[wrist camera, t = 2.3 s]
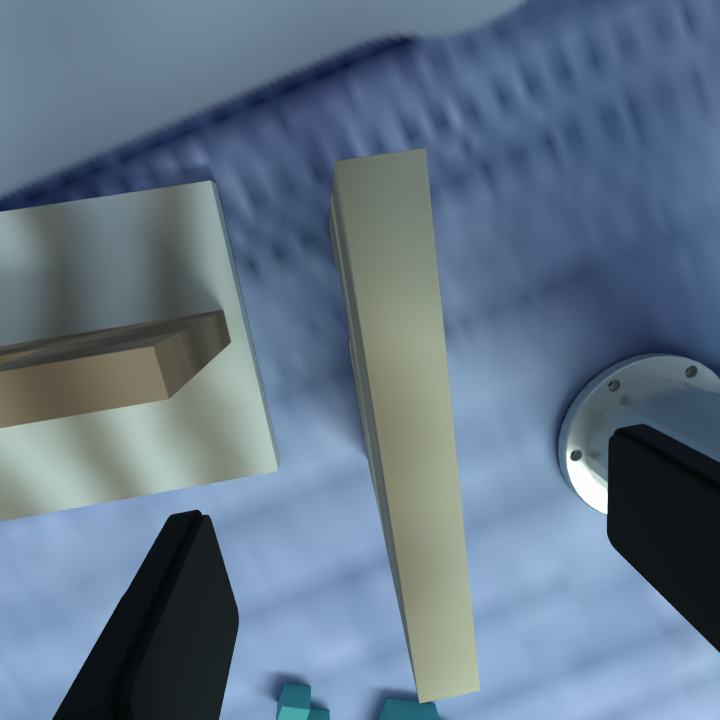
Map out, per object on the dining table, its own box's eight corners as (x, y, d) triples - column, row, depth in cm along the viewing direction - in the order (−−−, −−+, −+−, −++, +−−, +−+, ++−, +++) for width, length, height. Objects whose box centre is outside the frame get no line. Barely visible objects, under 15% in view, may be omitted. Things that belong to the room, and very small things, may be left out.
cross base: (216, 184, 23) (120, 120, 12) (280, 461, 28) (251, 593, 17) (-145, 238, 22) (-591, 220, 11) (-16, 515, 27) (-246, 689, 16)
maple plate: (361, 217, 24) (425, 147, 9) (395, 454, 28) (480, 690, 13) (328, 222, 24) (334, 161, 9) (367, 459, 28) (419, 703, 13)
